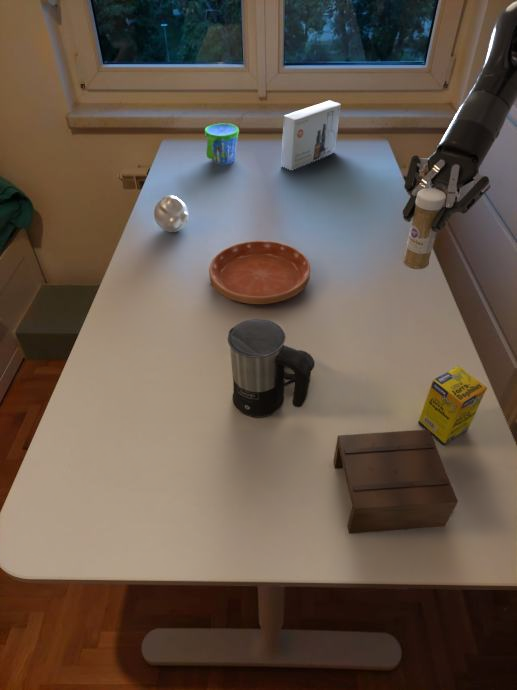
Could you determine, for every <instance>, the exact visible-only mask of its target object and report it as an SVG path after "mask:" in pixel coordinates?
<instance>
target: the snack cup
mask: <svg viewBox="0 0 517 690" xmlns="http://www.w3.org/2000/svg"><path fill="white" fill-rule="evenodd" d="M239 133H240V129H239V127H238V126H237V125H235V124H232V123H227V122H219V123H218V122H217V123H213V124H210V125H208V126H206V127H205V129H204V135H205V137H206V139H207V143H206V144H207V145H206V157H207V158H208V159H209V160H211V161H212V162H213V163H215V164H216V165H231V164H232V163H233V162H234V161H235V159H236V153H237V144H238V141H239V136H238V135H239Z"/></svg>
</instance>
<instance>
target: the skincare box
mask: <svg viewBox="0 0 517 690" xmlns="http://www.w3.org/2000/svg"><path fill="white" fill-rule="evenodd" d="M341 109H342V104H341V103H339V102H337V101H336V102H335V101H333V100H327V101H324V102H321V103H318V104H314V105H312V106H308V107H305V108H303V109H300V110H296V111H293V112H290V113H288V114H284V115H283V124H282V137H281V138H282V140H281V141H282V142H281V156H280V158H281V159H280V166H281V167H282V166H283V167H282V168H284V167H285V168H284V169H286V168H287V169H286V170H288V169H289V171H290V170H292V169H295V168H297V169H299V168H298V167H300V166H302V165H304V164H307V163H309V162H312V161H314V160H317V159H319V158H322V157H324V156H327V155H329V154H331V153H334V152H335V153H336V146H337V140H338V131H339V124H340V123H339V122H340V117H341V116H340V115H341ZM335 153H334V154H335ZM331 155H332V154H331ZM329 156H330V155H329ZM327 157H328V156H327ZM324 158H325V157H324ZM322 159H323V158H322ZM319 160H320V159H319ZM317 161H318V160H317ZM314 162H315V161H314ZM312 163H313V162H312ZM309 164H310V163H309ZM307 165H308V164H307ZM304 166H305V165H304ZM302 167H303V166H302ZM300 168H301V167H300ZM295 170H296V169H295ZM292 171H293V170H292Z"/></svg>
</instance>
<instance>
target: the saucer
mask: <svg viewBox="0 0 517 690" xmlns="http://www.w3.org/2000/svg"><path fill="white" fill-rule="evenodd" d="M208 268H209V269H208V273H209V280H210V283H211V284H212V286H213V288H214V290H216V291H217V292H218V293H219V294H221V295H222V296H223V297H225V298H228V299H229V300H232V301H235V302H239V303H243V304H249V305H251V304H252V305H267V304H274V303H279V302H282V301H286V300H288V299H291V298H293V297H294V296H296V295H298V294H299V293H300V292H302V291H303V290H304V289H305V288H306V286H307V285H308V283H309V281H310V276H311V264H310V261H309V259H308V258H307V257H306V255H305V254H304V253H303V252H301V251H300V250H298V249H297V248H295V247H293V246H291V245H288V244H285V243H281V242H277V241H271V240H254V241H253V240H252V241H246V242H241V243H237V244H234V245H231V246H228V247H226V248H224V249H223V250H221V251H220V252H219V253H217V254H216V255H215V256H214V257H213V259H212V260H211V261H210V264H209V267H208Z"/></svg>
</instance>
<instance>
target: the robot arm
mask: <svg viewBox="0 0 517 690" xmlns="http://www.w3.org/2000/svg"><path fill="white" fill-rule="evenodd" d="M515 61H516V62H517V0H515V1H513V2H511V3H509V4H508V5H507V6H506V7H505V8H504V9H503V10H502V11H501V12H500V14H499V15H498V17H497V19H496V21H495V23H494V26H493V28H492V30H491V34H490V37H489V42H488V46H487V51H486V55H485V58H484V61H483V63H482V66H481V70H480V72H479V75H478V76H477V79H476V80H475V82H474V83H473V85H472V88H471V89H470V91H469V92H468V94H467V96H466V98H465V99H464V101H463V102H462V104H460V106H459V107H458V109H457V111H456V113H455V115H454V116H453V118H452V120H451V122H450V124H449V126H448V127H447V129H446V131H445V133H444V134H443V136H442V137H441V140H440V142H439V144H438V145H437V147H436V150H435V152H433V154H431V155H430V156H429V157H428V158H427V157H426V158H421V157H419V155H416V154H415V155H413V156H412V157H411V159H410V163H409V167H408V170H407V175H406V178H405V182H404V185H403V186H404V190H405V191H406V193H407V194H408V195H409V196H410V197H409V199H408V201H407V202H406V205H405V206H404V208H403V210H402V218H403V220H404V221H405V222H407V223H410V222H412V220H413V216H414V212H415V207H416V203H415V201H416V197H417V193H418V192H419V191H420V190H421V189H425V188H434V189H443V190H445V191H446V192H447V194H446V200H445V204H444V207H442V208H441V210H440V212H439V214H438V215H437V217H436V219H435V221H434V222H433V224H432V226H431V229H432V231H434V232H436V234H437V233H439V231H443V230H444V229H445V227H446V225H447V224H448V222H449V220H450V219H451V217H452V215H453V214H454V213H460V214H463V215H464V214H466V213H468V212H469V210H470V209H471V208H473V206H474V205H475V204H476V203H477V202H478V201H480V199H481V198H482V197H483V196H484V195H485V194H486V193H487V192H488V191H489V189H490V188H491V181H490V178H489V177H488V176H486V175H484V176H483V175H481V174H480V173H479V169H480V167H481V166H482V164H483V162H484V160H485V159H486V157H487V155H488V154H489V151H490V150H491V148H492V146H493V144H494V143H495V141H496V140H497V138H498V137H499V136H500V133H501V130H502V128H503V127H504V125H505V122H506V120H507V117H508V115H509V113H510V112H511V110H512V108H513V106H514V104H515V102H516V100H517V63H516V62H515ZM426 167H427V170H428V172H427V173H426V174H425V176H424V177H423V178H421V180H420V182H419V184H418V181H419V178H420V173H423V172H424V170H425V169H426ZM471 183H472V184H471ZM468 184H471V185H472V187H471V189H469V191H468V192H466V194H465V195H464V196H463V197H462V198H461V199H460V195H461V190H462V188H463V187H465V186H466V185H468Z"/></svg>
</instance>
